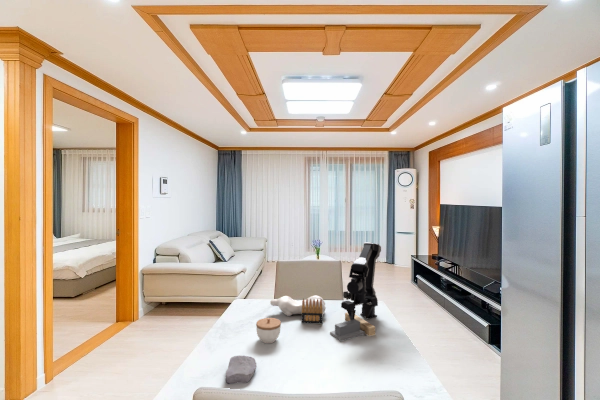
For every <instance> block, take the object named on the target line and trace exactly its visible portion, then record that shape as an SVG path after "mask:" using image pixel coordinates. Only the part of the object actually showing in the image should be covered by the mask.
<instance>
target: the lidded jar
mask: <svg viewBox="0 0 600 400" xmlns="http://www.w3.org/2000/svg"><path fill="white" fill-rule="evenodd" d="M255 325H256V326H255V327H256V335H257V337H258V339H259V340H260V341H261V342H262V343H264V344H273V343H274V342H275V341H276V340H277V339H278V337H279V336H280V333H281V329H282V328H281V325H282V321H281V320H280V319H278V318H274V317H264V318H261V319H259V320H257V321H256V323H255Z"/></svg>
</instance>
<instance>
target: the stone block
mask: <svg viewBox="0 0 600 400" xmlns="http://www.w3.org/2000/svg"><path fill="white" fill-rule="evenodd" d="M257 368H258V367H257V362H256V359H255V358H254V357H252V356H247V355H234V356H232V357H230V358H229V361H228V366H227V370H226V371H225V372H226V373H225V382H226V383H227V384H228V385H231V384H232V385H233V384H246V383H248V382H250V380H251V379H252V378H253V375H254V374H255V372H256V370H257Z"/></svg>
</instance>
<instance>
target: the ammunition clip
mask: <svg viewBox="0 0 600 400" xmlns="http://www.w3.org/2000/svg"><path fill="white" fill-rule="evenodd" d="M302 300H303V301H302ZM302 300H301V301H302V314H301V320H300V321H301V324H321V325H323V324H324V323H323V321H324V320H323V315H324V314H323V308H322V300H320V307H319V302H318V299H317V301H316V307H315V299H314V300H313V307H312V301H311V299H310V302H309V307H308V298H306V299H304V298H302ZM304 300H306V307H305V301H304Z"/></svg>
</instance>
